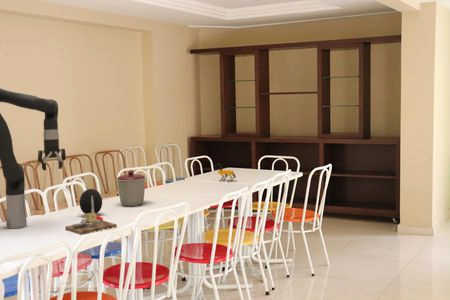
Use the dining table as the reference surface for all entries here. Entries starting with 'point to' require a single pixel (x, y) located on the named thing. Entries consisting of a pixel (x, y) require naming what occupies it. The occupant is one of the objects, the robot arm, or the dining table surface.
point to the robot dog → (225, 173)
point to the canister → (131, 189)
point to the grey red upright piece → (93, 209)
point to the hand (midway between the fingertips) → (52, 169)
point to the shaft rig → (89, 226)
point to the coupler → (90, 217)
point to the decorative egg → (86, 201)
